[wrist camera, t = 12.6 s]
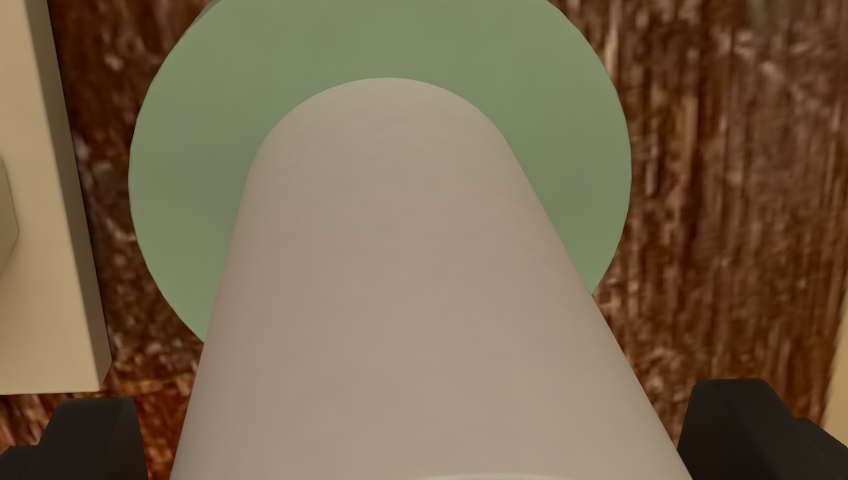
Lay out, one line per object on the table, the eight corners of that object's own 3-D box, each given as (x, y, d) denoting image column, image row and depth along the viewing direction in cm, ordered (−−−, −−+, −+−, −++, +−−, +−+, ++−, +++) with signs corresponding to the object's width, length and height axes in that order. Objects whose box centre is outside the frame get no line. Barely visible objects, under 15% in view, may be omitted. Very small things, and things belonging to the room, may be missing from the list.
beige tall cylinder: (232, 74, 14) (-1, 633, 4) (536, 78, 15) (940, 576, 5) (252, 332, 17) (133, 1042, 7) (509, 326, 17) (734, 970, 7)
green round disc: (118, -78, 14) (88, -64, 13) (637, -61, 15) (675, -47, 14) (176, 360, 19) (160, 413, 17) (572, 349, 20) (595, 398, 18)
